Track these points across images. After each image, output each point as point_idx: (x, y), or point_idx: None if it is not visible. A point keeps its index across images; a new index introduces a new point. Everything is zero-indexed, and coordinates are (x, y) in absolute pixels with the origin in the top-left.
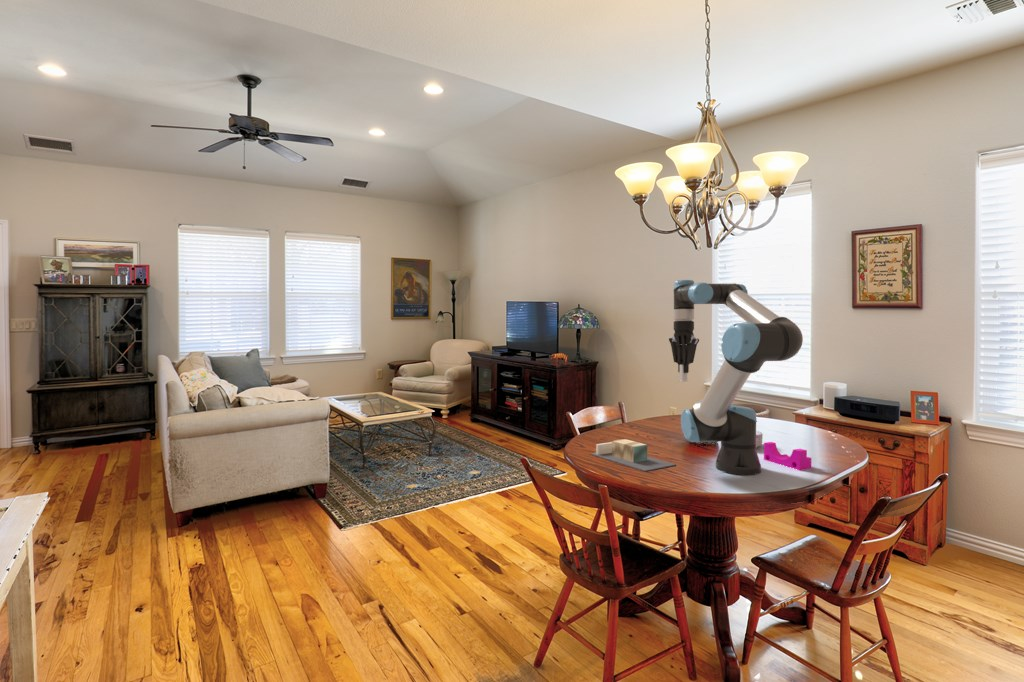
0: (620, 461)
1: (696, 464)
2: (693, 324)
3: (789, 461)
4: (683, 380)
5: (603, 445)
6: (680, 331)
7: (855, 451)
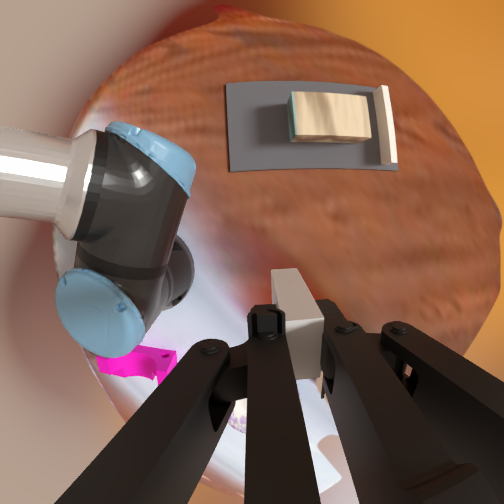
0: (308, 88)
1: (216, 220)
2: None
3: None
4: (271, 281)
5: (382, 100)
6: None
7: None
